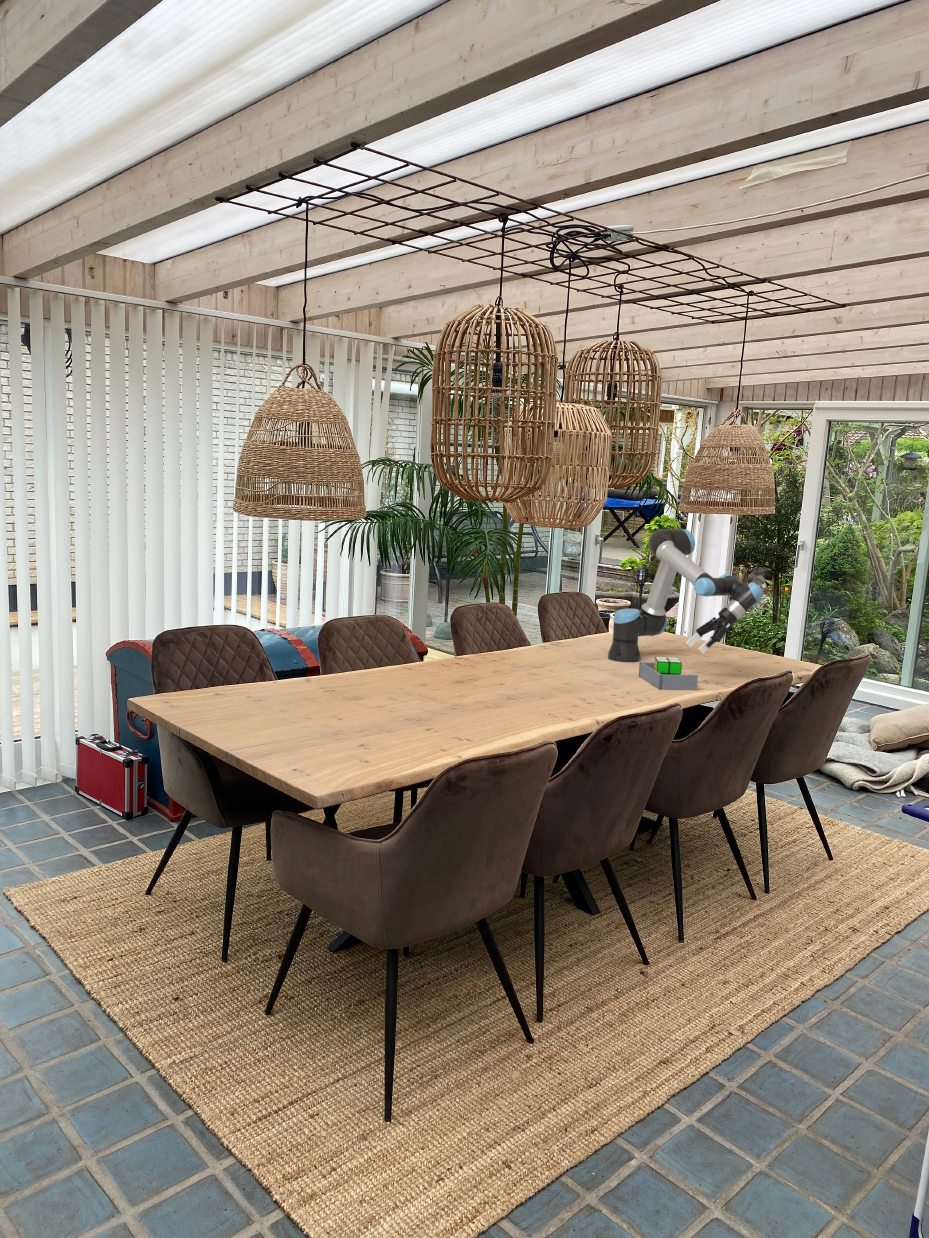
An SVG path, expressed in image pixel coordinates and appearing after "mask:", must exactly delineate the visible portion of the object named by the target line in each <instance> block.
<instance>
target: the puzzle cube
mask: <svg viewBox="0 0 929 1238" xmlns="http://www.w3.org/2000/svg"><path fill="white" fill-rule="evenodd" d="M653 663H654V670H656V671H657V672H659V673H660V674H662V675H682V668H683V662H682V661H681V660H680V658H678V657H664V656H655V657H654V662H653Z"/></svg>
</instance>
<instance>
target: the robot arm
mask: <svg viewBox="0 0 929 1238" xmlns="http://www.w3.org/2000/svg"><path fill="white" fill-rule="evenodd" d="M648 538H649V539H648V548H649V551H650V552H651V554H652V555H653V556H654V557H655V558H656V559H658V560H660V562H659V564H658V568H657V571H656V574H655V576H654V580H653V581H652V584H651V589H650V591H649V593H648V594H649V595H648V596H647V600H646V602H645V603H643V604H641V607H640V609H637V608H621V609H619V610H616V611H615V612H614V618H613V633H612V642H611V645H610V647H609V651H608V652H607V658H608V659H609V658H610V659H609V660H611V659H612V661H615V660H616V662H626V663H629V662H630V663H633V662H639V661H641V657H642V656H641V651H640V648H639V647H640V646H639V637H648V636H649V637H653V636H659V635H661V634H663V633H664V632H665V630H666V629H667V626H668V615H666V614H667V611H666V610H665V607H666V604H667V601H668V599H669V595H670V593H671V590H672V587H673V584H674V580H675V578H676V575H677V573H679V574H680V575H681V576H682V577H683V578H684V579H686V581H688V582H689V583H691V585H693V586H694V588H693V589H694V591H695V593H696V594H697V595H698V596H699V597H700V596H701V597H707V598H708V597H718V596H720V597H721V596H723V597H724V596H729V597H731V598H732V599H731V600H730V601H729V602H728V603H727V604H726V605H725V607H723V608H722V609H721V610H720V611H718V618H717V617H715V616H714V617H712V618H711V619H709V620H708V621H707V622H705V623H704V624H703V625H701V626H700V627H698V628H697V629H695V631H696V632H695V633H694V634H693V635H692V636H691V637H690V638H689V639H688V640H686V642H685V645H686V646H687V647H688V648H690V649H691V648H692V647H693V646H694V645H695V644H696V643H697V642H698V641H700V639H703V636H705V635H706V634H708V633H710V632H712V631H713V633H712V635H711V636H710V637H709V638H708V639H707V640H706V641H705V642H704V643H703V644H702V645H700V647H698V648H697V650H698V651H699V652H700V653H701V655H703V654H704V653H705V652H707V651H708V650H709V649H710V648H711V647H712V646H713V645H714V644H716V643H720V642H721V641H722V639H723V638H724V636H725V635H726V633H727V632H728V630H730V629H731V627H732V626H733V625H734V624H735V623H736V622H738V619H740V618H742V617H743V616H744V615H745V613H747V612H748V610H750V609H751V608H752V607H753V606H754V605H756V603H758V602H759V601H760V600H761V598H763V597H764V594H765V593H764V591H763V589H762V588H761V586H760V585H758V584H757V583H755V582H752V581H751V582H750V583H748V584H746V583H744V582H742V581H741V580H740V579H738V578H736V577H735V575H732V574H730V573H724V574H723V575H721V576H719V577H713V576H712V575H711V574H709V573H708V572H707V571H705V570H704V569H703V568H702V567H700V566H699V565H698V564H697V563H695V561H693V560H691V558H690V557H688V556H689V555H690V554H692V553H693V552H694V551H695V548H696V542H695V541H696V540H695V537H694V535H693V534H692V532H691V531H690V530H688V529H683V528H676V529H675V528H659V529H656V530H655V531H654V532H652V534H651V535H650V536H649V537H648Z"/></svg>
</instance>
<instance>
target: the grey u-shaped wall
mask: <svg viewBox="0 0 929 1238" xmlns="http://www.w3.org/2000/svg"><path fill="white" fill-rule="evenodd" d="M638 666H639V668H638V669H639V670H638V677H639V678H641V679H642V680H644V681H646V682H647V683H648V684H650V685H651V686H653V687H654V688H656V689H657V690H659V691H697V690H698V682H699V680H698V678H699V675H698V674H681V675H662V674H660V673H659V672H657V671H656V670H654V662H639V665H638Z"/></svg>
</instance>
